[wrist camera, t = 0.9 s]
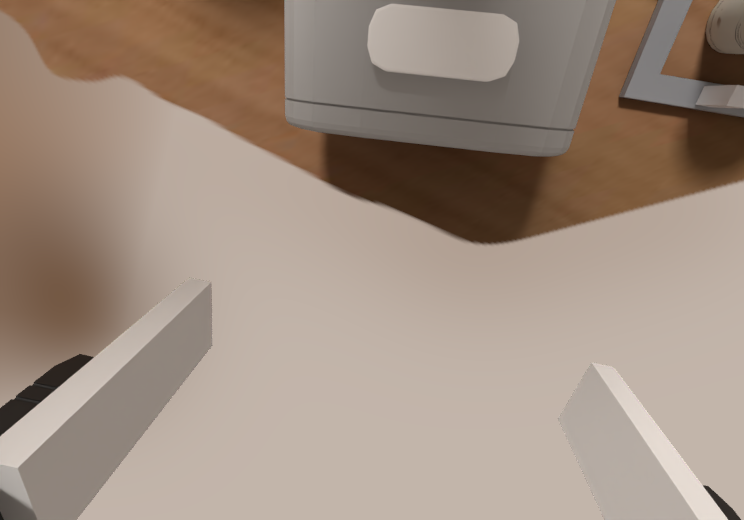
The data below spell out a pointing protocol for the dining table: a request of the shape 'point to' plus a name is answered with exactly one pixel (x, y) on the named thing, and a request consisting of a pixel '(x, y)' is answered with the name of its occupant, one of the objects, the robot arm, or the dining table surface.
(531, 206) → the dining table surface
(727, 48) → the coffee cup
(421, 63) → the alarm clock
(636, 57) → the collar
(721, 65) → the dining table surface
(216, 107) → the dining table surface
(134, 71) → the dining table surface
